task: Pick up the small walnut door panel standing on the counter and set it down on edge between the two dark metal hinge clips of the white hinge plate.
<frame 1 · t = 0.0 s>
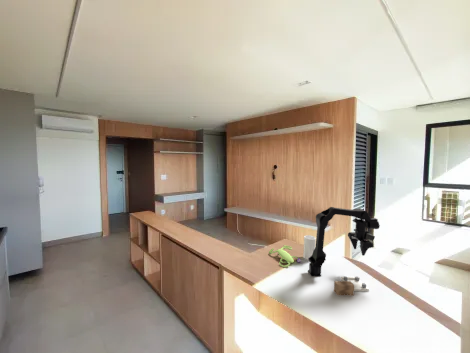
hand: (359, 252, 140), 15 cm above the worktop, fingers open, 9 cm apart
cup: (309, 257, 163), on the worktop
figurine: (284, 258, 163), on the worktop
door: (343, 293, 121), on the worktop
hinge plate: (354, 285, 128), on the worktop
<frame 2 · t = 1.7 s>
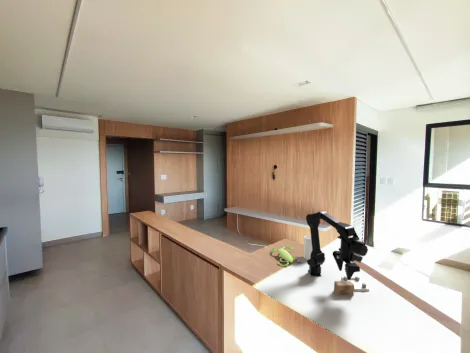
hand: (344, 275, 120), 11 cm above the worktop, fingers open, 9 cm apart
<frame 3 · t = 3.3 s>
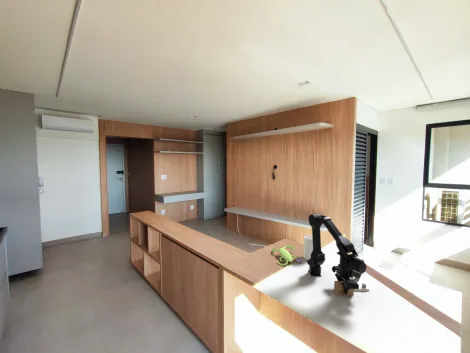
hand: (343, 291, 121), 1 cm above the worktop, fingers closed on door, 4 cm apart
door: (343, 293, 121), on the worktop, touching gripper
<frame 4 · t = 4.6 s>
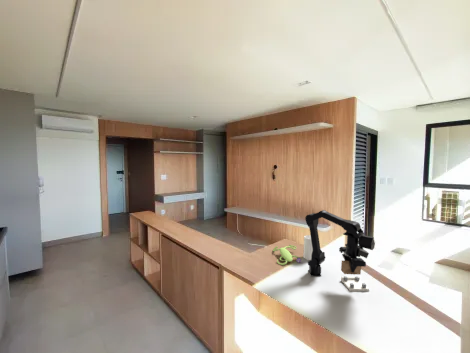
hand: (350, 270, 124), 11 cm above the worktop, fingers closed on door, 4 cm apart
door: (350, 272, 124), point 10 cm above the worktop, touching gripper
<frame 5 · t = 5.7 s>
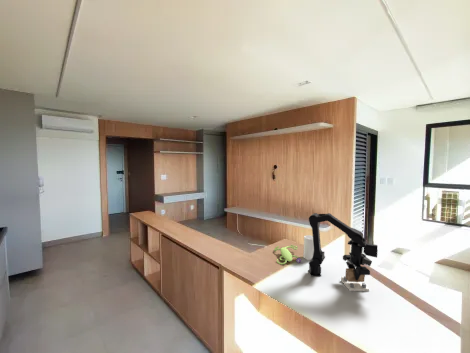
hand: (354, 277, 128), 5 cm above the worktop, fingers closed on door, 4 cm apart
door: (354, 279, 128), point 4 cm above the worktop, touching gripper
when the fingers open (3 cm above the worktop, at t = 6.2 s): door stays where it is, resting on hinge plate.
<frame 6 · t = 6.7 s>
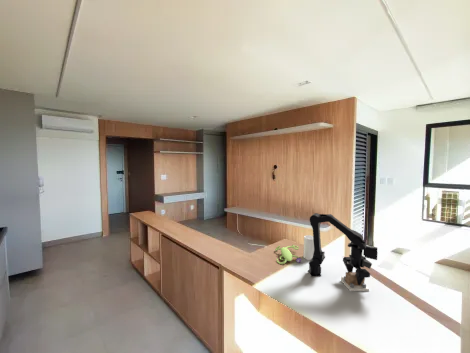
hand: (354, 280, 128), 3 cm above the worktop, fingers open, 9 cm apart
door: (354, 283, 128), point 1 cm above the worktop, touching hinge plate
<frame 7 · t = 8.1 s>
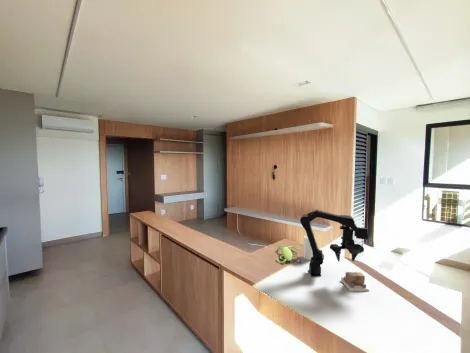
hand: (345, 261, 133), 12 cm above the worktop, fingers open, 9 cm apart
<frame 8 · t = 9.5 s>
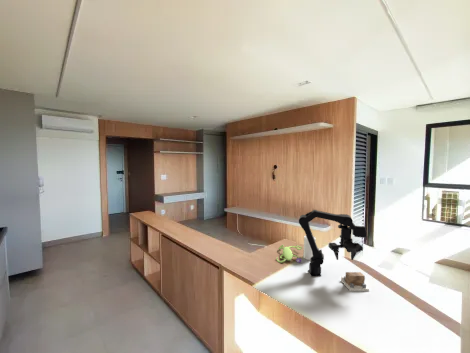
hand: (344, 259, 134), 13 cm above the worktop, fingers open, 9 cm apart
at the end: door 0.1 cm off-centre on the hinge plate, point 1.2 cm above the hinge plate's base; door tilted 0°; the gripper is holding nothing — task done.
